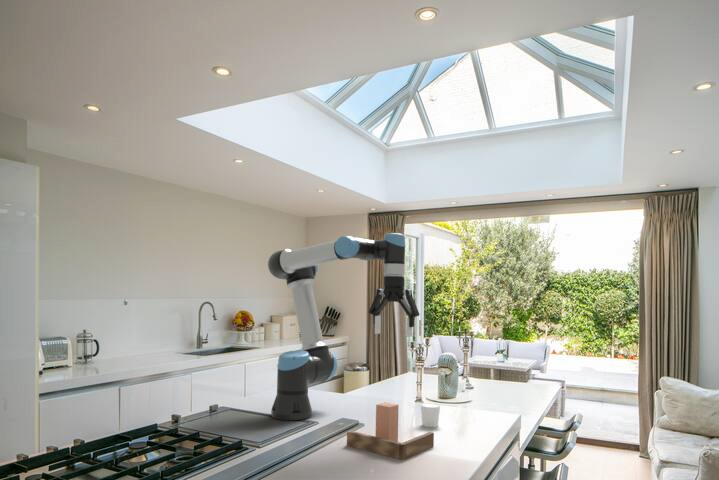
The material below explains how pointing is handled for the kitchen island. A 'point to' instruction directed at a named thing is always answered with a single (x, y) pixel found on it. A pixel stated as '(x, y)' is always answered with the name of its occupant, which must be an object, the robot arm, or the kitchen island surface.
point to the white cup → (430, 415)
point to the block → (387, 421)
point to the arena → (391, 444)
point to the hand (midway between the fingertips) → (393, 335)
